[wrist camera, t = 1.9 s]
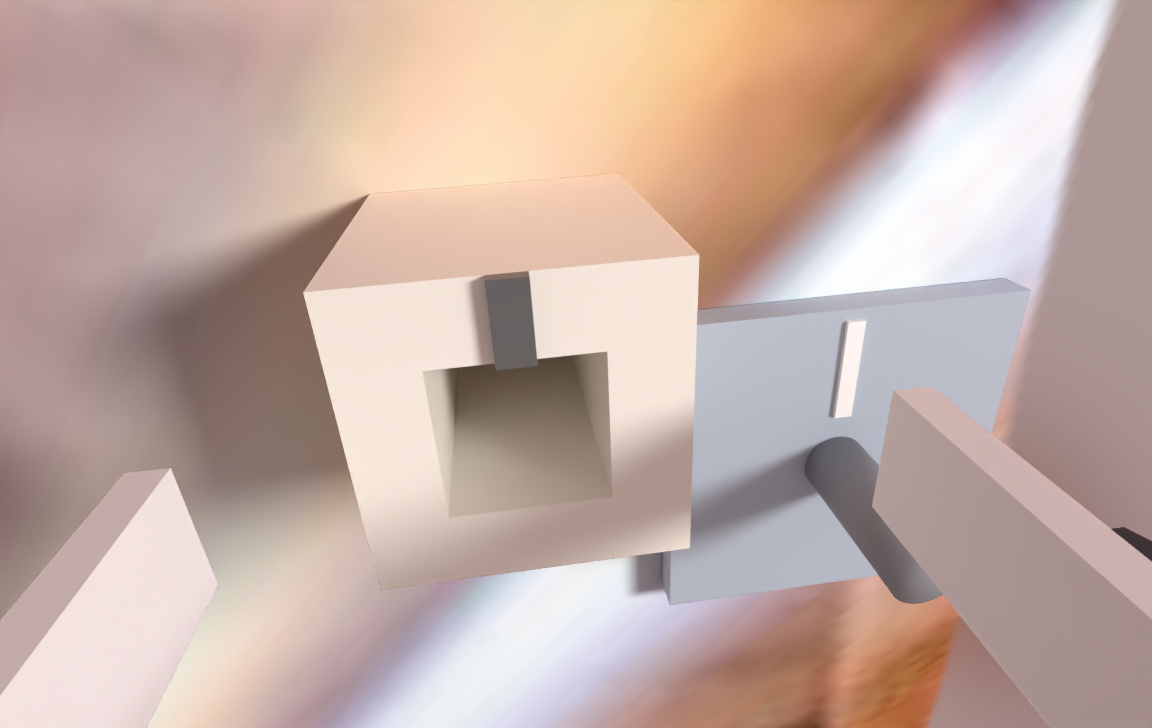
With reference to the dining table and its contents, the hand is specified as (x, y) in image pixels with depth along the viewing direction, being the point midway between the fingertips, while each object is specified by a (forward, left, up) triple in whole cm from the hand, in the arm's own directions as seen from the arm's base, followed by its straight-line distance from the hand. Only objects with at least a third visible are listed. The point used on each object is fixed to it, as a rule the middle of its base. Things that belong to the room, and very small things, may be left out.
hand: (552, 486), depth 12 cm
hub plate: (+11, -7, -10) cm, 16 cm away
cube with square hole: (0, 0, -10) cm, 10 cm away
